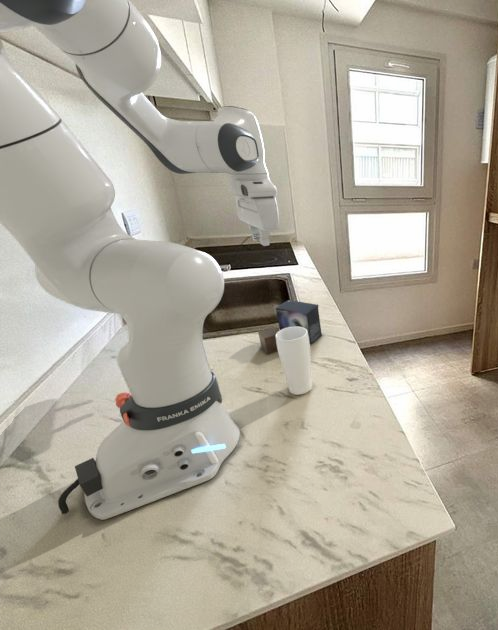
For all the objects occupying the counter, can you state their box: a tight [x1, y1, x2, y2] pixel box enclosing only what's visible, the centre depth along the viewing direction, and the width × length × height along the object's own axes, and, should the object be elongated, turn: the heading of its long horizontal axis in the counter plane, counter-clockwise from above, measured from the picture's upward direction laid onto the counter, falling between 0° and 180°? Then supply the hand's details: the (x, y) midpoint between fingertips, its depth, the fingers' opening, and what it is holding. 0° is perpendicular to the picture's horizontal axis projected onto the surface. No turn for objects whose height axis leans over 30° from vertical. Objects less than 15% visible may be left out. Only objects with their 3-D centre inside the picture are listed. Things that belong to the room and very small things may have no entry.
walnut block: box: [257, 326, 280, 355], centre depth 94 cm, size 5×5×5 cm
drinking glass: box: [275, 326, 313, 396], centre depth 75 cm, size 7×7×15 cm
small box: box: [275, 299, 323, 345], centre depth 98 cm, size 11×6×10 cm, turn 73°
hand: (261, 243), depth 86 cm, fingers open, 4 cm apart
